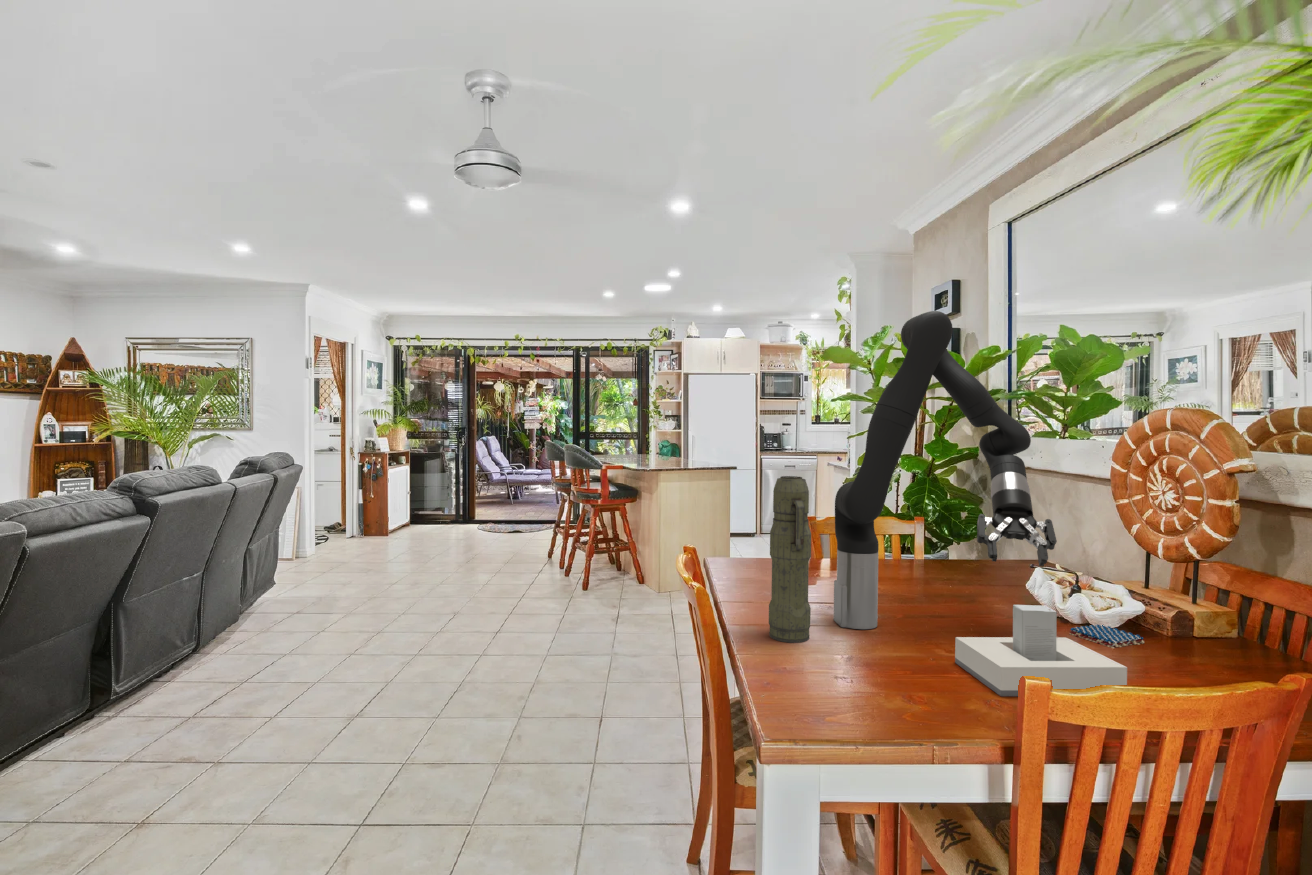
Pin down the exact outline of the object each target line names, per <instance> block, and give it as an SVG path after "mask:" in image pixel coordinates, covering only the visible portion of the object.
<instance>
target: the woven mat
mask: <svg viewBox="0 0 1312 875" xmlns="http://www.w3.org/2000/svg"><path fill="white" fill-rule="evenodd" d="M1100 624H1101V623H1100ZM1100 624H1094V625H1093V624H1091V625H1089V626H1088V625H1085V626H1082V625H1081V626H1080V627H1078V626H1075V627H1071V628H1070V630H1069V631H1068V632H1069V635H1071V636H1074V637H1076V638H1080V639H1083V640H1085V641H1090V642H1092V643H1096V644H1098V645H1100V646H1101V645H1102V646H1105V647H1108V648H1111V649H1115V648H1123V647H1129V646H1133V645H1134V646H1135V645H1136V646H1137V645H1141V644H1142V645H1143V644H1145V640H1144V637H1143V636H1141V635H1140V634H1133V632H1127V631H1126V630H1123V629H1122V630H1119V629H1118V628H1112V626H1110V625H1107V626H1105V625H1104V624H1103V625H1104V626H1103V625H1102V626H1101V625H1100Z"/></svg>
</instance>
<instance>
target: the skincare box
mask: <svg viewBox="0 0 1312 875" xmlns="http://www.w3.org/2000/svg"><path fill="white" fill-rule="evenodd" d="M1057 618H1058V617H1057V611H1056V610H1055V609H1052V608H1051V607H1049V606H1047V605H1041V604H1039V605H1038V604H1037V605H1035V604H1033V605H1031V604H1013V605H1012V637H1013V651H1015V652H1016V653H1018V654H1020V655H1022V656H1023V657H1025V658H1027V659H1028V660H1030V661H1056V637H1057V629H1058V628H1057Z"/></svg>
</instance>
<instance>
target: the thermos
mask: <svg viewBox="0 0 1312 875" xmlns="http://www.w3.org/2000/svg"><path fill="white" fill-rule="evenodd" d="M806 480H807V479H805V478H803V477H802V476H797V475H796V476H793V475H789V476H788V475H783V476H782V475H781V476H780V477H778V478H777V479H776V481H775V484H774V487H773V493H772V494H773V498H772V499H773V502H772V510H773V511H772V513H773V518H772V525H771V528H770V531H769V556H770V558H771V597H770V598H771V599H770V601H769V604H768V624H769V632H768V633H769V635H768V636H769V638H770V639H772V640H775V641H778V642H782V643H793V644H796V643H797V644H798V643H804V642H807V641H809V639H810V627H811V605H810V602H809V571H810V570H809V565H810V564H809V562H810V559H811V557H812V531H811V529H810V526H809V525H810V524H809V523H810V522H809V519H808V514H809V512H810V511H809V510H810V509H809V506H810V497H809V496H810V490H809V487H808V484H807V481H806Z"/></svg>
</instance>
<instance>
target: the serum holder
mask: <svg viewBox="0 0 1312 875" xmlns="http://www.w3.org/2000/svg"><path fill="white" fill-rule="evenodd" d="M954 638H955V641H954V642H955V643H954V644H955V645H954V647H955V649H954V663H955V664H956V665H957V666H959V667H961V668H962V669H963V670H965V671H966V672H967V673H968V674H970V675H971V676H973V677H974V678H976V679H977V680H978V681H979V682H981V683H982V684H983V685H984V686H986V687H987V688H989V689H990V690H992V691H993V692H995V694H997V695H998V696H1000V697H1019V696H1018V685H1019V680H1020V678H1021V677H1022V676H1035V677H1045V678H1049V679H1050V680H1052V686H1053V689H1086V688H1090V687H1095V686H1100V685H1127V686H1128V667H1127V666H1125V665H1123V664H1122V663H1119V662H1117V661H1115V660H1113V659H1111V658H1109V657H1107V656H1105V655H1103V654H1101V653H1099V652H1097V651H1095V650H1093V649H1090V648H1088V647H1086V646H1084V645H1082V644H1080V643H1078V642H1076V641H1075V640H1072V639H1070V638H1068V637H1063V636H1062V637H1059V636H1056V661H1030V660H1028V659H1027V658H1025V657H1023V656H1022V655H1020V654H1018V653H1016V652H1015V651H1013V636H1010V637H1008V636H1007V637H1005V636H1003V637H1000V636H999V637H998V636H997V637H996V636H995V637H993V636H992V637H990V636H985V637H984V636H981V637H980V636H979V637H978V636H974V637H973V636H966V637H965V636H963V637H962V636H956V637H954Z"/></svg>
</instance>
